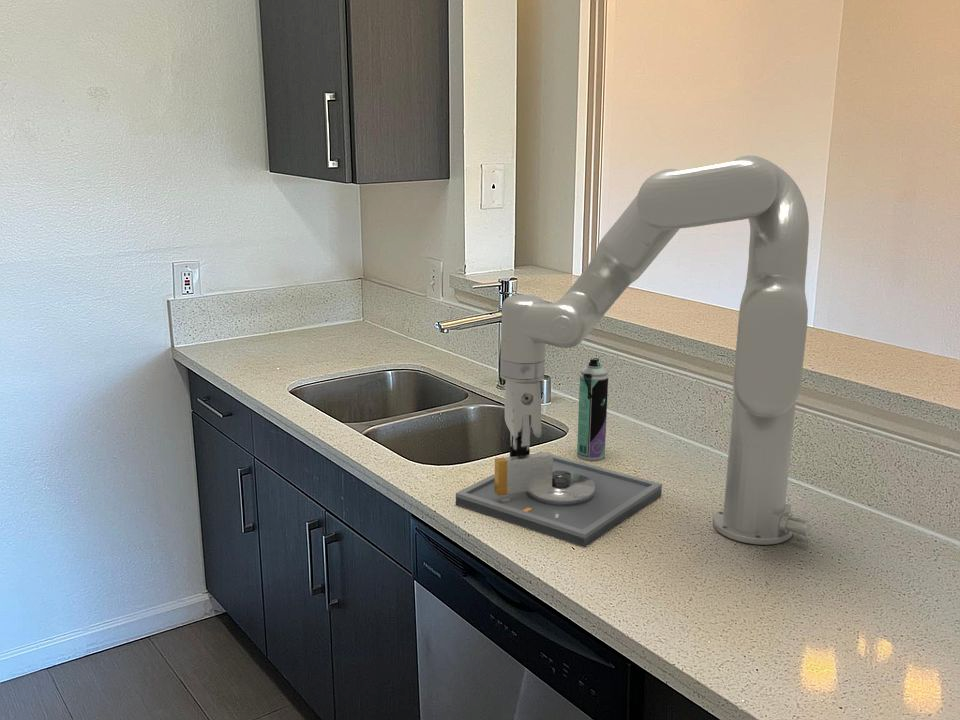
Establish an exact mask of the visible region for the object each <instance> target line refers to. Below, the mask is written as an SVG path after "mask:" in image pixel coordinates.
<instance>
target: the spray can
mask: <svg viewBox="0 0 960 720" xmlns="http://www.w3.org/2000/svg"><path fill="white" fill-rule="evenodd" d="M578 388H579V389H578V390H579V393H578V395H579V396H578V418H577V419H578V420H577V422H578V423H577V446H576V448H577V449H576V451H577V452H576V457H578V459H581V460H584V461H586V462H587V461H588V462H596V461H597V462H598V461H601V460H603V459H605V456H606V440H607V435H606V434H607V414H608V395H609V394H608V393H609V392H608V391H609V370H608V369H605V368H604V367H603V365H602V364H601V362H600V359H599V358H597V357H595V358H592V359H590V360H589V362H588V364H587V365H586V366H585V367H583V368H581V369H580V373H579V387H578Z"/></svg>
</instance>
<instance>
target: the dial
mask: <svg viewBox="0 0 960 720" xmlns="http://www.w3.org/2000/svg"><path fill="white" fill-rule="evenodd" d="M542 452H543V453H538V452H535V453H530V454H528V455H521V456H513V457H510V456H506V457H503V456H502V457H496V458H494V474H495V486H494V492H495V493H496V494H497V495H498V496H500V495H507V494H511V493H517V492H524V491H526V493H527V495H528V496H529V497H530V498H532V499H534V500H536V501H538V502H541V503H545V504H550V505H559V506H569V505H577V504H582V503H585V502H587V501H589V500H591V499H592V498H593V497H594V495H595V484H594V482H593V481H592V480H591V479H589V478H588V477H586V476H583V475H580V474H577V473H572V472H566V471H553V455H554V454H552V453H551V452H550V451H542Z"/></svg>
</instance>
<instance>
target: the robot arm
mask: <svg viewBox="0 0 960 720" xmlns="http://www.w3.org/2000/svg"><path fill="white" fill-rule="evenodd" d="M743 220H744V221H745V220H748V222H749V223H748V224H749V230H750V231H749V232H750V233H749V242H748V243H749V246H748V261H747V263H748V265H747V272H746V280H745V286H744V290H743V293H742V297H741V301H740V304H739V312H738V321H737V322H738V323H737V335H736V346H735V356H734V357H735V358H734V368H733V378H732V379H733V381H732V389H733V394H732V395H733V397H732V406H731V407H732V408H731V421H730V431H729V433H730V434H729V442H728V443H729V445H728V453H727V468H726V478H725V489H724V500H723V501H724V502H723V503H724V505H723V508H722V509H720V510H718V511H717V512H716V513H714V515H713V520H712V525H713V527H714V529H715V530H716V531H717V532H718V533H720V534H721V535H723V536H724V537H727V538H729V539H731V540H734V541H737V542H741V543H745V544H751V545H760V546H761V545H762V546H763V545H766V546H768V545H776V544H781V543H784V542H786V541H788V540H790V539H791V537H792V536H793V534H797V535H800V536H804V537H808V535H809V534H810V530H811V524H809V523H808V518H805V517H801V516H796V515H794V514H793V513H792V512H791V510H792V505H791V504H788V503H787V491H788V481H789V474H790V473H789V471H790V462H791V453H792V443H793V437H794V435H793V434H794V428H795V427H794V426H795V414H796V405H797V404H796V403H797V402H796V401H797V399H798V397H799V394H800V392H801V391H800V390H801V385H802V384H801V383H802V375H803V368H804V367H803V366H804V360H805V359H804V358H805V350H806V349H805V348H806V341H807V340H806V339H807V331H808V319H809V318H808V317H809V316H808V315H809V314H808V313H809V310H808V302H807V296H806V276H807V266H808V249H809V235H810V234H809V232H810V227H809V226H810V224H809V223H810V222H809V211H808V207H807V203H806V201H805V198H804V195H803V193H802V191H801V189H800V188H799V186H798V183H796V181H795V179H793V178H792V177H791V175H789V174H788V173H787V172H786V171H785V170H784V169H782V168H781V167H779V166H778V165H777V164H775V163H773V162H772V161H770V160H768V159H766V158H763V157H761V156H758V155H742V156H740V157H736V158H735V159H733V160H730V161H725V162H720V163H719V162H718V163H715V164H707V165H704V166H703V165H702V166H697V167H692V168H685V169H676V168H665V169H663V170H659V171H658V172H655V173H654V174H651V175H650V176H649V177H647V178H646V179H645V180H644V182H643V183H642V185H641V186H640V187H639V190H638V192H637V195H636V196H635V197H634V198H633V199H632V200H631V202H630V204H629V205H628V206H627V207H626V209H625V210H624V211H623V212H622V213H621V215H620V216H619V218H618V219H616V221H615V222H614V223H613V225H612V226H611V227H610V228H609V230H608V231H607V232H606V233H605V234H604V236H603V237H602V238H601V240H600V241H599V243H598V245H597V247H596V250H595V253H594V255H593V257H592V259H591V261H589V264H588V265H587V266H586V267H585V269H584V270H583V272H582V273H581V274H580V276H579V277H578V278H577V279H576V280H575V281H574V283H573V284H572V285H571V286H570V287H569V289H568V290H567V291H566V293H565V294H564V295H562V297H561V298H560V299H558V300H557V301H555V302H551V303H547V302H546V301H545V299H544V298H542V297H539V296H537V295H531V294H517V295H511V296H507V297H506V298H505V299H504V300H503V302H502V304H501V308H502V309H501V327H500V329H501V333H500V372H499V377H500V379H502V380H505V388H504V422H505V424H506V426H507V428H508V430H509V432H510V442H509V444H510V446H509V457H513V456H521V455H528V454H531V453H530V452H531V451H530V450H531V449H530V446H531V435H532V434H533V435H534V437H536V438H538V439H539V438H540V437H542V391H541V389H542V387H541V381H543V380H544V379H545V368H546V347H547V345H548V346H552V347H555V348H562V349H570V348H574V347H576V346H578V345H579V344H581V343H582V342H583V341H584V340H585V338H586V337H587V336H588V335H589V334H590V333H591V331H592V330H593V329H594V328H595V327H596V326H597V325H598V323H599V322H600V321H601V319H603V317H604V316H605V315H606V313H607V312H608V311H609V309H610V308H612V306H613V305H614V304H615V303H616V301H617V300H618V299H619V298H620V296H622V294H623V293H624V292H625V291H626V290H627V288H628V287H630V286H631V285H632V283H634V282H636V281H637V280H638V279H639V278H640V277H641V276H642V275H643V273H645V272H646V270H647V269H648V268H649V266H650V265H651V264H652V263H653V262H654V260H655V259H657V257H658V256H659V254H660V253H661V252H662V251H663V250H664V248H665V247H666V246H667V245H668V244H669V242H670V241H671V240H672V239H673V238H674V237H675V235H676V234H678V232H679V230H681V229H689V228H697V227H702V226H703V227H704V226H709V225H716V224H722V223H723V224H724V223H729V222H737V221H743ZM531 432H532V434H531Z"/></svg>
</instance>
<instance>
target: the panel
mask: <svg viewBox="0 0 960 720" xmlns="http://www.w3.org/2000/svg"><path fill="white" fill-rule="evenodd" d="M543 452H544V451H539V452H537V453H543ZM553 471H566V472H572V473H577V474H580V475H583V476H586V477H588V478H589V479H591V480H592V481H593V482H594V484H595V495H594V497H593V498H592V499H591V500H589V501H587V502H585V503H582V504H577V505H569V506H559V505H550V504H545V503H541V502H538V501H536V500H534V499H532V498H530V497H529V496H528V495H527V493H526V491H524V492H517V493H511V494H507V495H500V496H498V495H497V494H496V493H495V492H494V486H495V473H493V474H491V475H489V476H488V477H486V478H483V479H482V480H479V481H478V482H475V483H474V484H471V485H469V486H467V487H465V488H463V489H461V490H460V491H457V492H455V505H456V506H458V505H459V506H458V507H461V506H462V508H464V507H465V509H467V508H468V510H470V509H471V511H473V510H474V512H476V513H479V512H480V514H482V513H483V515H485V514H486V516H489V517H491V516H492V517H491V518H494V519H496V520H497V519H498V520H500V521H504V522H507V523H509V524H512V525H517V526H519V527H522V528H525V529H529V530H531V531H534V532H537V533H540V534H543V535H546V536H549V537H552V538H555V539H559V540H562V541H564V542H567V543H570V544H573V545H577V546H579V547H582V548H586V547H587V546H589V545H590V544H592V543H593V542H595V541H596V540H597V539H600V538H601V537H602V536H604V535H605V534H607V532H610V531H611V530H612V529H614V528H615V527H617V526H618V525H620V524H622V523H623V522H625V520H628V519H629V518H630V517H632V516H633V515H634V514H636V513H638V512H639V511H641V510H642V509H643V508H645V507H647V506H648V505H650V504H651V503H653V502H654V501H656V500H657V499H658V498H660V497H661V496H662V493H663V492H662V489H663V484H662V483H660V482H656V481H653V480H649V479H645V478H642V477H637V476H635V475H630V474H627V473H624V472H623V473H622V472H619V471H616V470H615V471H614V470H611V469H607V468H603V467H601V466H597V465H593V464H589V463H585V462H581V461H578V460H574V459H570V458H567V457H562V456H561V455H560V456H559V455H555V454H553Z"/></svg>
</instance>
